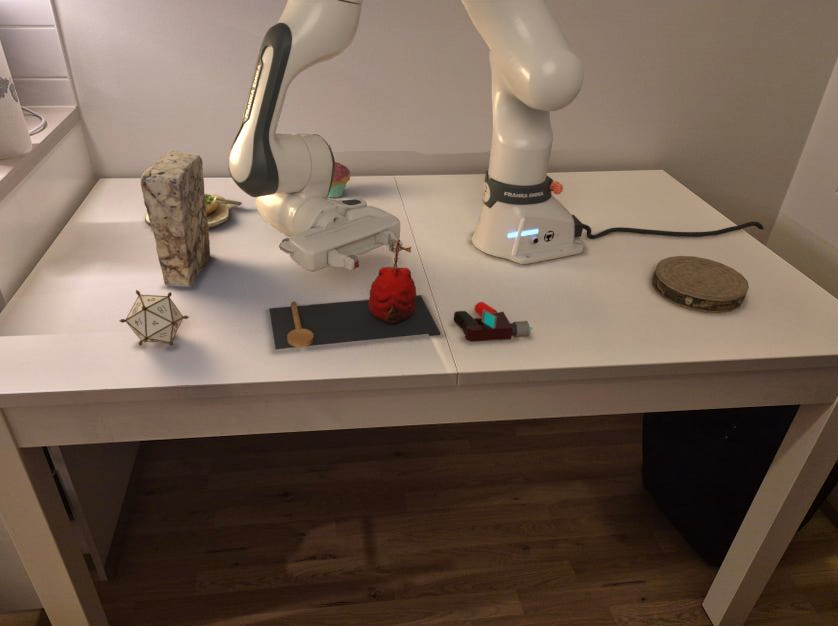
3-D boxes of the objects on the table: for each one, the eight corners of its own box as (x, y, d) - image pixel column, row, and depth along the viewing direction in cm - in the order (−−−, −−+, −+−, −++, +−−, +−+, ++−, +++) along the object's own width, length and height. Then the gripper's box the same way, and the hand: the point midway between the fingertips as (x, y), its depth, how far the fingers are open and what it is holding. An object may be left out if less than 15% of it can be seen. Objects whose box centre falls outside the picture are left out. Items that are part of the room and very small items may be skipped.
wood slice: (659, 262, 128) (663, 248, 126) (746, 283, 123) (752, 269, 121) (644, 297, 117) (648, 282, 115) (739, 322, 111) (745, 307, 109)
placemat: (420, 297, 113) (420, 295, 113) (440, 335, 104) (440, 332, 104) (269, 310, 108) (269, 308, 107) (275, 351, 98) (275, 349, 98)
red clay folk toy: (412, 304, 110) (417, 222, 101) (417, 327, 105) (423, 242, 96) (367, 305, 109) (368, 222, 101) (369, 328, 104) (371, 242, 95)
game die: (165, 368, 100) (141, 347, 91) (126, 334, 102) (98, 311, 92) (205, 325, 102) (186, 301, 93) (167, 293, 104) (144, 266, 94)
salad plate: (241, 196, 146) (239, 176, 144) (244, 229, 132) (242, 208, 130) (150, 200, 142) (146, 180, 140) (144, 235, 128) (139, 213, 126)
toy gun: (535, 340, 104) (541, 314, 101) (463, 345, 102) (466, 319, 99) (516, 308, 112) (520, 284, 109) (448, 313, 109) (451, 287, 107)
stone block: (201, 290, 112) (183, 177, 101) (160, 289, 112) (137, 175, 100) (216, 255, 123) (201, 149, 111) (178, 254, 123) (160, 148, 111)
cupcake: (348, 201, 147) (348, 148, 140) (311, 200, 146) (308, 146, 139) (351, 187, 154) (351, 136, 146) (315, 186, 153) (313, 134, 146)
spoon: (281, 306, 108) (280, 301, 108) (305, 304, 109) (305, 299, 108) (288, 348, 98) (288, 343, 98) (315, 345, 99) (315, 340, 99)
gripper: (272, 226, 104) (326, 257, 96) (368, 196, 116) (423, 221, 108) (274, 261, 108) (327, 294, 100) (367, 229, 119) (421, 256, 112)
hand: (378, 256), depth 104 cm, fingers open, 8 cm apart
